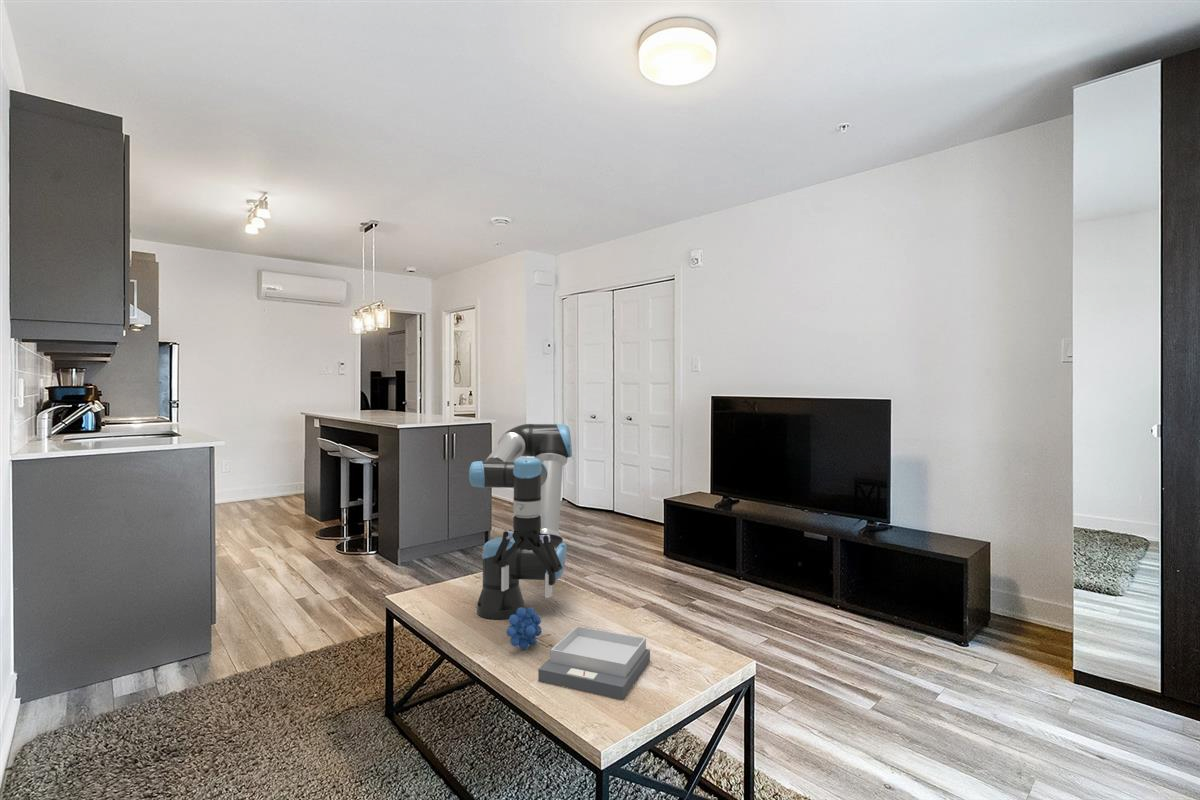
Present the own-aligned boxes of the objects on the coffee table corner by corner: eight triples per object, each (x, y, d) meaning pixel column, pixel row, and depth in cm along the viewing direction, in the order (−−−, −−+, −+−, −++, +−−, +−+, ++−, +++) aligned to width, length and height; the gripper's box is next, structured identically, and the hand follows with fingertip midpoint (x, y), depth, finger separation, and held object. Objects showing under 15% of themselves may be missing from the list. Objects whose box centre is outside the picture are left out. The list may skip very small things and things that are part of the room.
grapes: (516, 661, 151) (516, 616, 151) (501, 653, 156) (501, 609, 155) (550, 648, 159) (551, 604, 159) (535, 640, 164) (535, 598, 164)
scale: (538, 681, 141) (538, 656, 141) (574, 646, 160) (574, 624, 160) (622, 700, 132) (622, 673, 132) (650, 661, 152) (650, 638, 152)
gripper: (480, 513, 158) (480, 591, 158) (562, 521, 149) (561, 603, 149) (495, 509, 165) (495, 583, 165) (574, 516, 156) (573, 594, 156)
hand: (526, 593), depth 157 cm, fingers open, 13 cm apart
